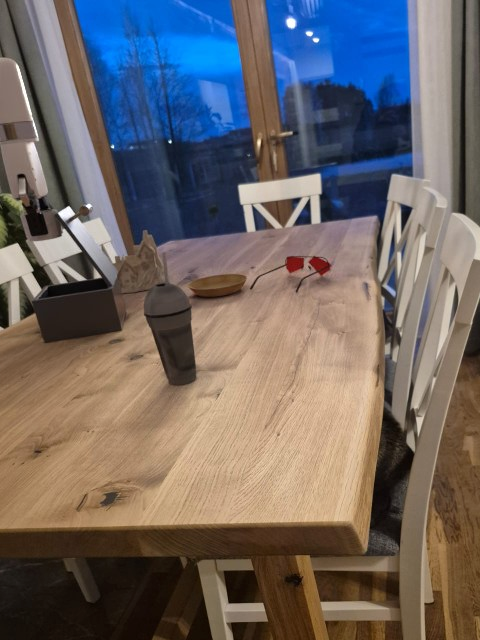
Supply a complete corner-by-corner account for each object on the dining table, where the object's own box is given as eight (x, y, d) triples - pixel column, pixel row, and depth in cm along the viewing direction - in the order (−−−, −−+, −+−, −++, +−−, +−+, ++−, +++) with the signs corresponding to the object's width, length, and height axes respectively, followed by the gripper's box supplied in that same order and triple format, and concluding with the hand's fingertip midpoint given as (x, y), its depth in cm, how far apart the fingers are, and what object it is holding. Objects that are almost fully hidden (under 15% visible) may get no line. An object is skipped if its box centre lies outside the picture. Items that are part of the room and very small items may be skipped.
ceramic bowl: (24, 243, 112) (16, 216, 110) (32, 238, 119) (24, 212, 116) (60, 238, 113) (53, 211, 111) (66, 233, 119) (59, 208, 117)
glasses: (333, 275, 145) (331, 255, 143) (297, 293, 133) (294, 271, 131) (288, 273, 153) (285, 254, 151) (249, 290, 141) (246, 269, 139)
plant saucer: (212, 282, 153) (211, 272, 151) (259, 284, 146) (258, 273, 144) (177, 298, 141) (175, 288, 140) (226, 300, 134) (224, 289, 133)
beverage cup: (156, 377, 95) (128, 254, 86) (200, 367, 97) (176, 246, 88) (163, 392, 89) (133, 262, 80) (209, 381, 91) (184, 253, 82)
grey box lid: (54, 215, 110) (77, 199, 110) (65, 207, 123) (87, 194, 122) (109, 287, 118) (131, 273, 117) (115, 274, 130) (135, 261, 130)
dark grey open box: (44, 343, 119) (31, 301, 116) (56, 324, 132) (44, 285, 128) (122, 330, 122) (111, 288, 118) (126, 313, 134) (117, 275, 130)
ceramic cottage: (173, 274, 167) (158, 221, 160) (165, 290, 152) (149, 233, 145) (120, 284, 167) (103, 232, 160) (107, 301, 152) (88, 244, 146)
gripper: (7, 137, 115) (34, 229, 123) (-20, 137, 100) (13, 242, 107) (45, 133, 116) (70, 224, 124) (25, 131, 101) (55, 236, 108)
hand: (43, 231), depth 115 cm, fingers closed on ceramic bowl, 6 cm apart
